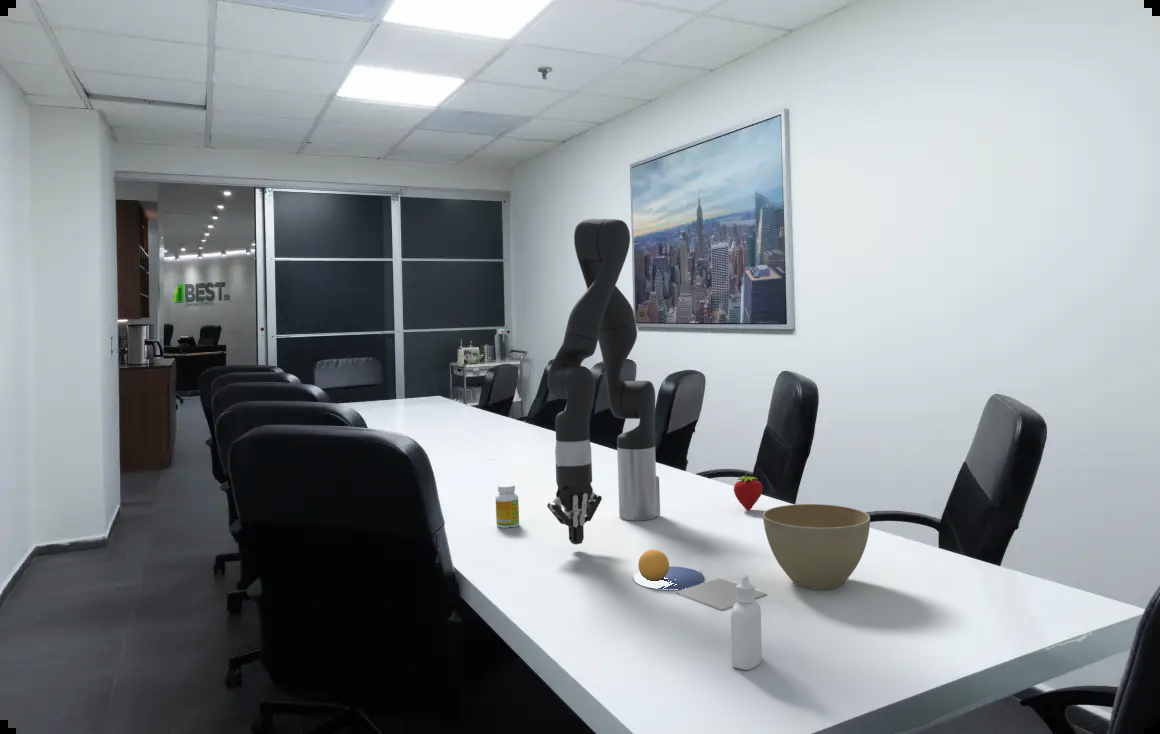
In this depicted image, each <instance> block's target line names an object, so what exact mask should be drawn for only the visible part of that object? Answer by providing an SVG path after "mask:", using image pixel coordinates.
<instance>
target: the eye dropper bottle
mask: <svg viewBox="0 0 1160 734" xmlns="http://www.w3.org/2000/svg"><path fill="white" fill-rule="evenodd" d="M736 584H737V585H736V600H737V602H736V603H735V604H734V606H733V607H731V612H730V641H731V642H730V643H731V644H730V645H731V646H730V648H731V649H730V650H731V666H732V668H735V669H738V670H742V671H749V670H752V669H754V668H756V667H757V666H759V665H760V664H761V661H762V658H763V648H762V645H763V644H762V642H763V641H762V615H761V613H762V611H761V610H762V609H761V606H760V603H759V602H758V601H757V600H756V599H755V593H754V590H755V586H754V584H752V583H750V581H749V577H748V575H747V574H744V575H743V574H742V577H741V582H740V583H736Z"/></svg>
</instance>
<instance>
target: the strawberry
mask: <svg viewBox="0 0 1160 734" xmlns="http://www.w3.org/2000/svg"><path fill="white" fill-rule="evenodd" d="M747 474H748V472H746V473H745V474H744V476H740V478H737V479H736V480H737V481H736V483H734V485H733V493H734V496H735V498H737V500H738V502H739V503H740V504H741V506H742V507H743V508H744V510H746V511H750V510H751V509H752V508H753V507H754V505H755V504H756V503H757V502H758V501H759V498H761V496H762V493H763V489H764V488H763V484H762V483H761V481H759V478H757V477H756V476H746V475H747Z"/></svg>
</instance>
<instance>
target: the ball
mask: <svg viewBox="0 0 1160 734" xmlns="http://www.w3.org/2000/svg"><path fill="white" fill-rule="evenodd" d="M639 557H640V558H639V559H638V564H637V565H638V572H639V571H640V573H641V575H642V576H643V577H644V578H646V579H647V580H650V581H659V580H661V579H663V578H664V577H665V576H666V575H667V573H668V570H669V566H670V562H669V559H668V557H667V555H666V554H665V553H664V552H662V551H661V550H658V549H648V550H646V551H644V552H643V553H642V554H641V556H639Z"/></svg>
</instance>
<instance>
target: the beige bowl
mask: <svg viewBox="0 0 1160 734" xmlns="http://www.w3.org/2000/svg"><path fill="white" fill-rule="evenodd" d="M762 519H763V525H764V526H763V527H764V532H765V535H766V539H767V542H768V544H769V547H770V550H771V552H772V554H773V556H774V557H775V560H776V561H777V563H778V565H779V566H780V568H781V569H782V570H783V572H784V573H785V574H786V576H788V578H789V579H790V580H791V582H792V583H794V584H795V585H797V586H798V587H802V588H805V589H810V590H832V589H833V590H834V589H836V588H839V587H841V586H842V585H843V584H844V583H846V581H847V580H848V579H849V577H851V575H852V574H853V573H854V571H855V570H856V569H857V566H858V565H859V563H860V561H861V559H862V557H863V554H864V552H865V549H866V547H867V542H868V539H869V533H870V528H871V527H870V526H871V516H870V515H869V514H868V512H865V511H862V510H860V509H857V508H854V507H853V508H852V507H850V506H849V507H848V506H843V505H842V506H841V505H835V504H821V503H803V504H802V503H801V504H797V503H796V504H787V505H786V504H785V505H779V506H775V507H772V508H768V509H767V510H765V511H763V514H762Z"/></svg>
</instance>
